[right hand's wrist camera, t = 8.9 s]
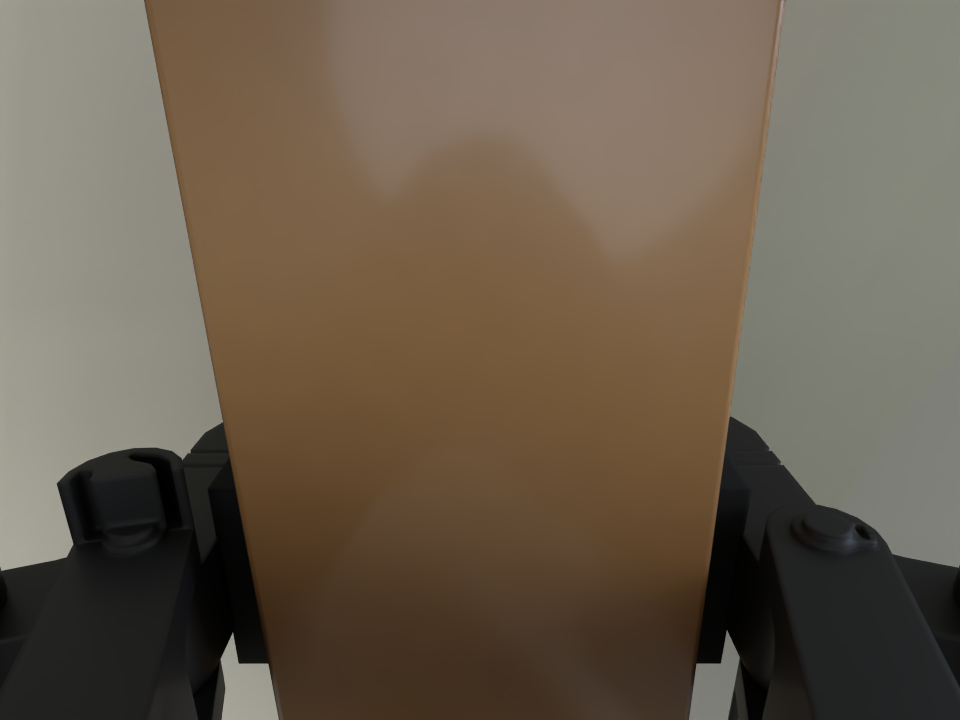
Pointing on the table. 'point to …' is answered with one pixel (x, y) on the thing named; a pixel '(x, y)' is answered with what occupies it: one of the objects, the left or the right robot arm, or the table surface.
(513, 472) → the bar
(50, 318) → the table surface
